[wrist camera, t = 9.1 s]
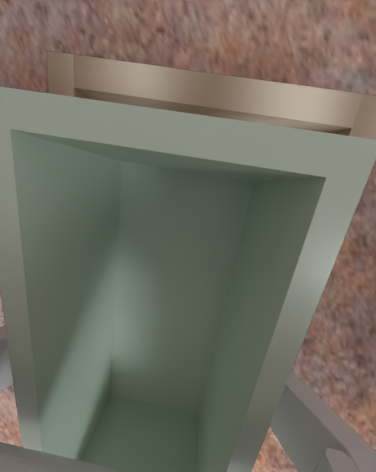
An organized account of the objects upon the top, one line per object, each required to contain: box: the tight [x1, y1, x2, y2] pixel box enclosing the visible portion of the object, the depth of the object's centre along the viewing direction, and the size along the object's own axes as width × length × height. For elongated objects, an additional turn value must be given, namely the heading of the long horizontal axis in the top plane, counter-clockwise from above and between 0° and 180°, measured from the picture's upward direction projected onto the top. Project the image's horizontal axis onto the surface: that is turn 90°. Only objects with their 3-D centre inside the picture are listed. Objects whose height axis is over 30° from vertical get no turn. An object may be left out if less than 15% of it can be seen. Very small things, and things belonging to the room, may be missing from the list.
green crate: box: [0, 87, 376, 472], centre depth 7 cm, size 6×14×5 cm, turn 171°
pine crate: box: [46, 51, 376, 140], centre depth 12 cm, size 14×20×4 cm
